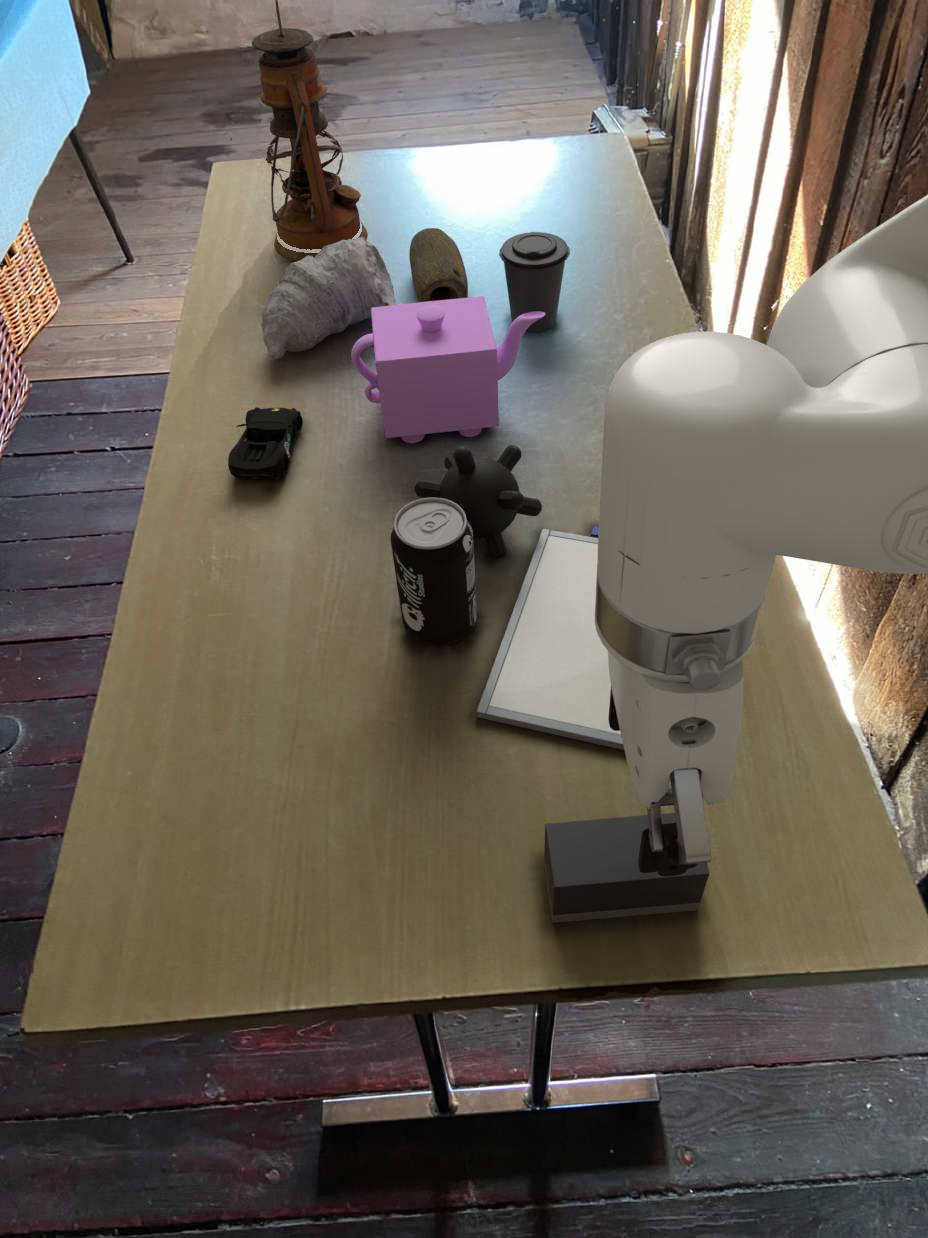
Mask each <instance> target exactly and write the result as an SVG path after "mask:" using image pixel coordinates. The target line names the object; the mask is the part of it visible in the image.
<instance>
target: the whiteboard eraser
mask: <svg viewBox="0 0 928 1238" xmlns="http://www.w3.org/2000/svg"><path fill="white" fill-rule="evenodd" d="M661 817H662V824H669V823H676V817H675V812H663V813H661ZM647 828H648V815H647V814H642V815H630V816H629V815H628V816H618V817H608V818H605V817H604V818H595V819H584V820H572V821H561V822H549V823H548V822H547V823H545V824H544V846H543V848H544V850H543V865H544V872H545V881H546V887H547V895H548V902H549V910H550V916H551V922H552V923H553V924H556V923H565V922H577V921H590V920H600V919H613V918H623V917H625V918H626V917H635V916H645V915H647V916H648V915H658V914H670V913H681V912H692V911H698V909H699V907H700V904H701V901H702V898H703V895H704V893H705V890H706V889H705V888H706V886H707V883H708V880H709V877H710V870H709V867H708V863H697V865H696V866H695V867H694V868H691V869H687V871H686V872H685V873H683V874H681V875H676V876H660V875H659V874H658V872H651V873H642V872H640V870H639V865H638V859H639V852H640V845H641V838H642V831H644V830H645V829H647Z"/></svg>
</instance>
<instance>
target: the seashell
mask: <svg viewBox="0 0 928 1238" xmlns="http://www.w3.org/2000/svg"><path fill="white" fill-rule="evenodd" d="M391 305H397V303H396V298H395V290H394V285H393V283H392V279H391V275H390V273H389V271H388V269H387V266H386V263H385V261H384V258H383V257H382V256H381V254H380V252H379V250H378V248H377V246H375V245H373V244H372V243H368V242H367V239H366V240H365V238H364V237H359V238H356V239H353V240H352V239H348V240H341V241H339V242H337V243H334V244H330V245H327V246H324V247H323V248H322V249H321V251H320V252H319V253H318V254H317V255H316V256H315V258H313V256H309V255H308V256H306V257H305V258H303V259H302V260H300V261H293V262H291V263H290V264H289V266H287V267H286V269H285V272H284V274H283V276H282V277H281V278H280V279H279V281H278V285H277V286H276V287H275V288H274V289H273V290H272V291H271V292H270V294H269V296H268V300H267V302H266V305H265V307H264V309H262V319H261V330H262V339H263V343H264V345H265V346H266V348H267V352H268V354H269V358H270V360H273V361H274V360H278V359H282V358H283V357H284V356H285V353H286V352H293V353H301V352H302V353H303V352H305V351H307V350H310V349H313V348H314V347H315V346H317V344H319V343H321V342H322V341H323V340H325V338H327V337H328V336H330V335H333V334H339V333H341V332H343V331H344V330H345V329H346V328H347V327H348V326H349V325H355V324H358V323H360V322H362V321H364V320H365V319H367V318H372V316H371V308H373V307H382V306H391Z"/></svg>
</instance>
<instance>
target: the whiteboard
mask: <svg viewBox="0 0 928 1238" xmlns="http://www.w3.org/2000/svg"><path fill="white" fill-rule="evenodd" d="M597 556H598V537H594V536H588V535H582V534H577V533H571V532H567V531H566V532H564V531H559V530H555V529H554V530H553V529H549V528H542V529H541V532H540V534H539V537H538V540H537V543H536V545H535V548H534V551H533V553H532V556H531V559H530V562H529V565H528V567H527V570H526V573H525V576H524V578H523V581H522V585H521V587H520V589H519V593H518V595H517V597H516V600H515V603H514V606H513V609H512V612H511V615H510V618H509V620H508V623H507V625H506V628H505V631H504V633H503V637H502V639H501V642H500V645H499V648H498V650H497V652H496V653H497V654H496V656H495V659H494V661H493V664H492V666H491V670H490V672H489V676H488V678H487V680H486V683H485V686H484V690H483V692H482V694H481V698H480V699H479V703H478V705H477V709H476V718H479V719H484V720H487V721H492V722H496V723H502V724H506V725H510V726H514V727H518V728H523V729H529V730H532V731H537V732H541V733H545V734H550V735H554V736H558V737H559V736H560V737H564V738H569V739H572V740H577V741H582V742H585V743H590V744H595V745H599V746H605V747H608V748H612V749H616V750H621V751H625V750H624V746H623V741H622V737H621V732H620V731H614V730H613V729H611V728H610V725H609V720H608V718H609V705H610V691H611V682H610V675H609V665H608V650H607V649H606V648H605V646H604V645H603V644H602V642H601V640H600V638H599V636H598V634H597V631H596V626H595V601H596V581H597Z"/></svg>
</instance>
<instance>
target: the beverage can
mask: <svg viewBox="0 0 928 1238" xmlns="http://www.w3.org/2000/svg"><path fill="white" fill-rule="evenodd" d="M390 546H391V552H392V560H393V567H394V574H395V579H396V586H397V587H396V588H397V593H398V600H399V607H400V613H401V614H400V615H401V620H402V625H403V627H404V629H405V631H406V632H407V634H409V635H410V637H412V638H413V639H415V640H417V641H418V642H421V643H424V644H428V645H431V646H446V645H450V644H453V643H455V642H457V641H460V640H461V639H464V637H466V636H467V635H468V634H470V632H471V631H472V630H473V629H474V627H475V625H476V623H477V620H478V604H477V603H478V602H477V585H476V584H477V582H476V567H475V566H476V565H475V549H474V548H475V547H474V539H473V531H472V528H471V525H470V524H469V522H468V521H467V519H466V515H465V513H464V511H463V509H462V508H461V507H460V506H459V505H457V504H456V503H454V502H452V501H450V500H447V499H443V498H419V499H416V500H413V501H411V502H408V503H407V504H405V505H404V506H403V507H402V508H400V510H399V511H398V512H397V513H396V516H395V518H394V521H393V527H392V529H391V534H390Z"/></svg>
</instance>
